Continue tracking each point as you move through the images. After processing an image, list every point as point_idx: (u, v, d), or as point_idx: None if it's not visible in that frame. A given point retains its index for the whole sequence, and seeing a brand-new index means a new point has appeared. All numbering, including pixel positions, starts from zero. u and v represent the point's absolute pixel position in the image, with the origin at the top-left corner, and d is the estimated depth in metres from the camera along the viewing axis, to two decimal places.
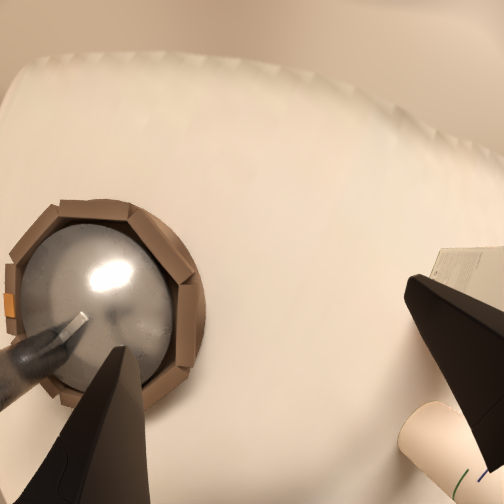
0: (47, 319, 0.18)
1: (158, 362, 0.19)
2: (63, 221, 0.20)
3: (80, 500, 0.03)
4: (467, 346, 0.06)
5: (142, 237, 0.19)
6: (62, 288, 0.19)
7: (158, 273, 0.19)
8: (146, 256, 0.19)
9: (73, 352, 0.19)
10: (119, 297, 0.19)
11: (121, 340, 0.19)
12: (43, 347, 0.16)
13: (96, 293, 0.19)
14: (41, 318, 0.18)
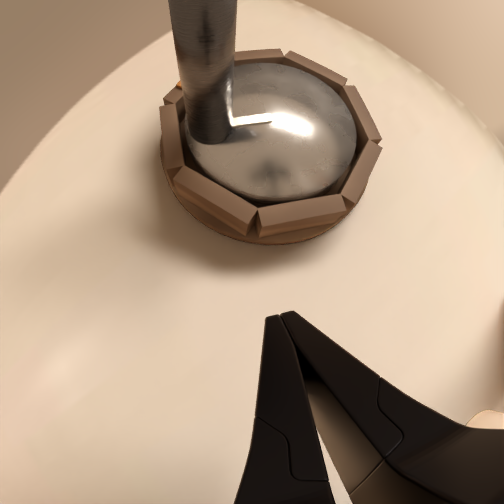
0: None
1: (323, 185, 0.19)
2: None
3: (316, 476, 0.04)
4: (325, 410, 0.06)
5: (351, 99, 0.21)
6: (260, 93, 0.21)
7: (354, 126, 0.21)
8: (349, 111, 0.21)
9: (235, 138, 0.20)
10: (314, 122, 0.20)
11: (297, 150, 0.20)
12: None
13: (293, 110, 0.21)
14: None
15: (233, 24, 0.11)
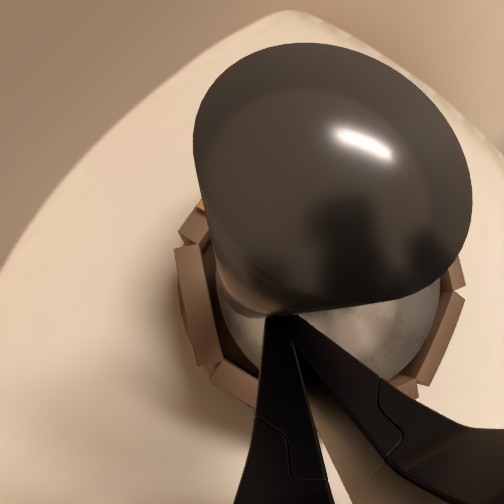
0: None
1: (393, 373, 0.14)
2: None
3: (316, 476, 0.04)
4: (325, 410, 0.06)
5: None
6: None
7: None
8: None
9: None
10: None
11: (370, 327, 0.14)
12: None
13: None
14: None
15: None
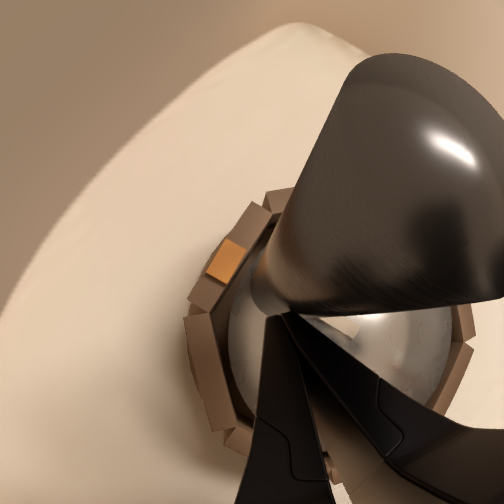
0: None
1: (325, 449, 0.12)
2: None
3: (317, 476, 0.04)
4: (325, 410, 0.06)
5: None
6: None
7: (425, 403, 0.13)
8: (438, 382, 0.14)
9: None
10: (393, 373, 0.14)
11: None
12: None
13: (388, 340, 0.14)
14: None
15: None
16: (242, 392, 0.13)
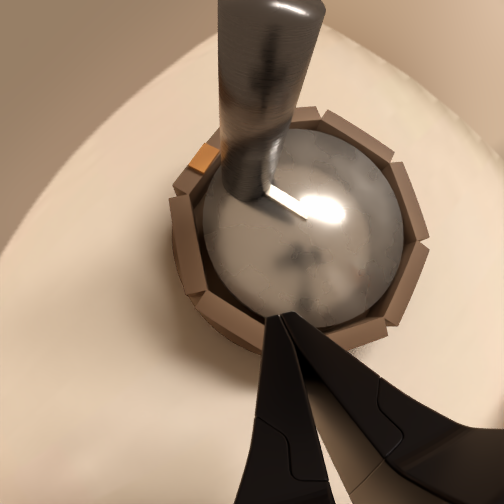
0: (282, 167, 0.18)
1: None
2: None
3: (317, 476, 0.04)
4: (325, 410, 0.06)
5: (399, 184, 0.18)
6: (326, 182, 0.18)
7: (384, 291, 0.17)
8: (394, 273, 0.17)
9: (256, 207, 0.17)
10: (347, 255, 0.17)
11: (299, 269, 0.17)
12: (275, 167, 0.15)
13: (339, 226, 0.18)
14: (279, 159, 0.18)
15: (282, 91, 0.09)
16: (212, 259, 0.17)
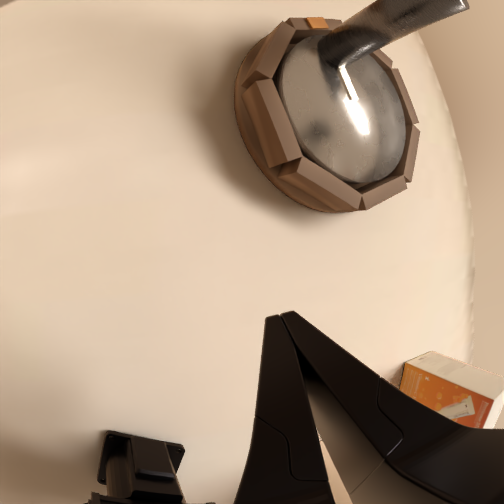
0: (354, 67, 0.20)
1: (305, 140, 0.19)
2: None
3: (317, 476, 0.04)
4: (325, 410, 0.06)
5: (411, 138, 0.23)
6: (373, 96, 0.21)
7: (369, 181, 0.21)
8: (381, 178, 0.22)
9: (328, 69, 0.19)
10: (361, 139, 0.21)
11: (331, 119, 0.19)
12: (365, 55, 0.17)
13: (366, 122, 0.21)
14: (356, 62, 0.20)
15: (424, 16, 0.11)
16: (285, 68, 0.18)
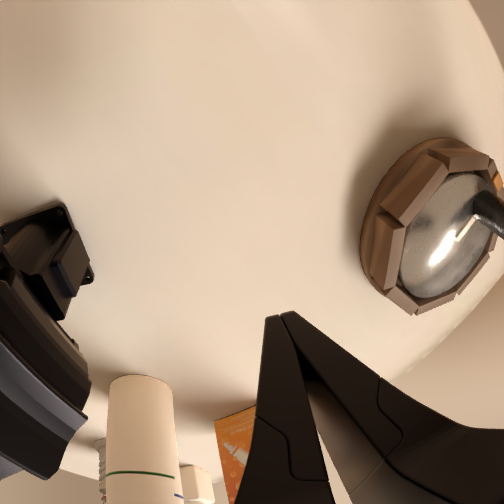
0: (478, 226, 0.23)
1: (416, 222, 0.20)
2: None
3: (317, 476, 0.04)
4: (325, 410, 0.06)
5: (446, 296, 0.26)
6: (463, 251, 0.24)
7: (405, 285, 0.24)
8: (410, 292, 0.24)
9: (469, 208, 0.21)
10: (431, 261, 0.23)
11: (437, 231, 0.21)
12: (494, 232, 0.19)
13: (445, 257, 0.23)
14: (481, 225, 0.23)
15: None
16: (458, 178, 0.19)
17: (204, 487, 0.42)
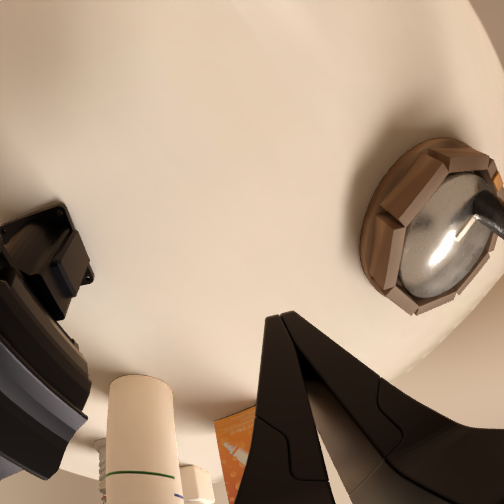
0: (478, 226, 0.23)
1: (416, 222, 0.20)
2: None
3: (317, 476, 0.04)
4: (325, 410, 0.06)
5: (446, 296, 0.26)
6: (463, 251, 0.24)
7: (405, 285, 0.24)
8: (410, 292, 0.24)
9: (469, 208, 0.21)
10: (431, 261, 0.23)
11: (437, 231, 0.21)
12: (494, 232, 0.19)
13: (445, 257, 0.23)
14: (481, 225, 0.23)
15: None
16: (458, 178, 0.19)
17: (204, 487, 0.42)
